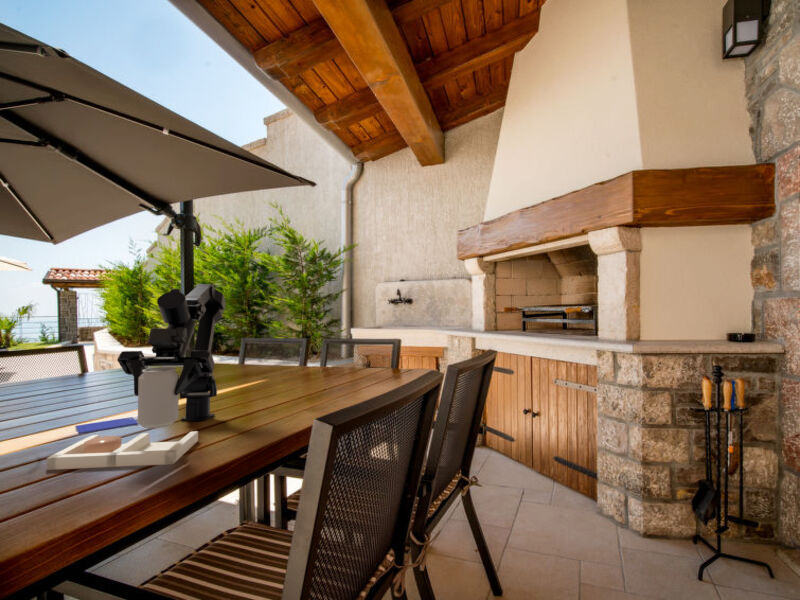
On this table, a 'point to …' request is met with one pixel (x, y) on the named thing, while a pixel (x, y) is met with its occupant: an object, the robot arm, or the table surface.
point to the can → (157, 397)
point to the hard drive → (106, 425)
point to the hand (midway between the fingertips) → (155, 394)
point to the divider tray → (123, 453)
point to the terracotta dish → (102, 444)
